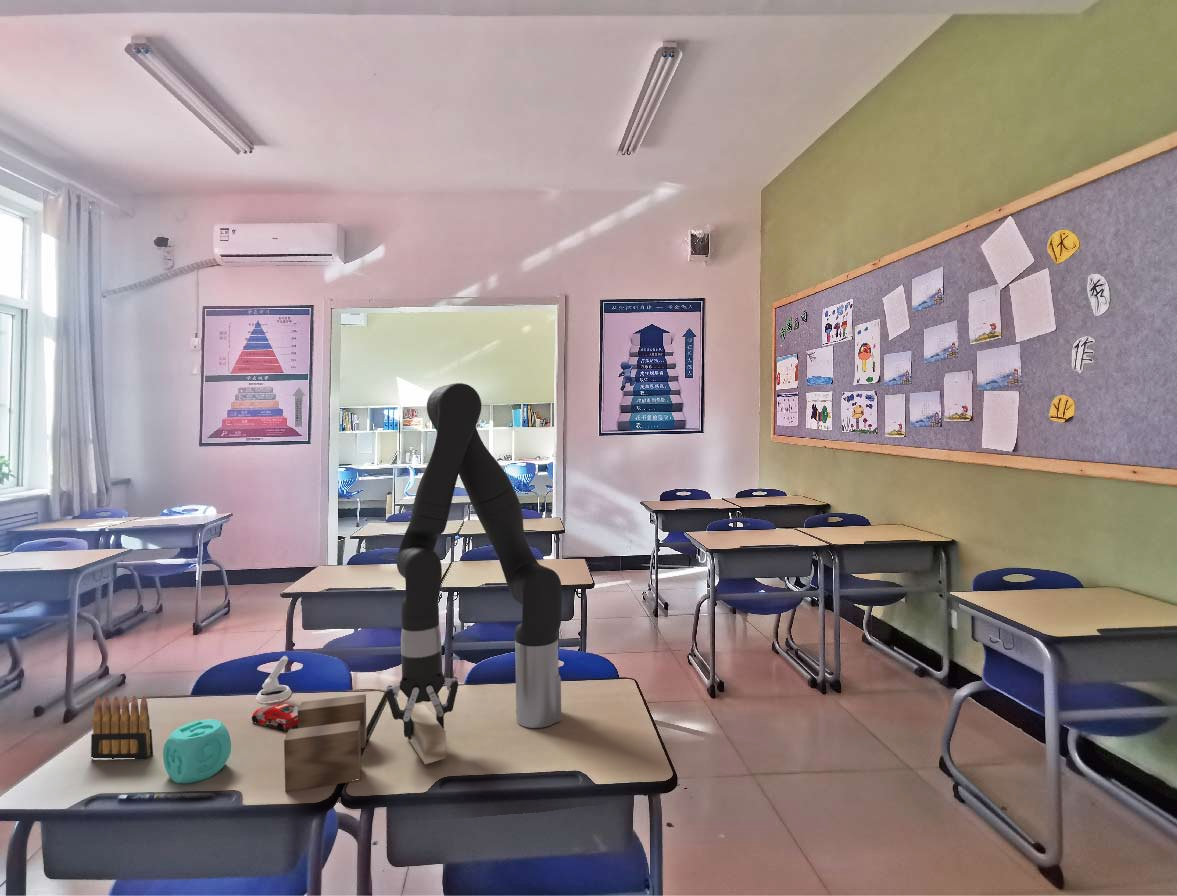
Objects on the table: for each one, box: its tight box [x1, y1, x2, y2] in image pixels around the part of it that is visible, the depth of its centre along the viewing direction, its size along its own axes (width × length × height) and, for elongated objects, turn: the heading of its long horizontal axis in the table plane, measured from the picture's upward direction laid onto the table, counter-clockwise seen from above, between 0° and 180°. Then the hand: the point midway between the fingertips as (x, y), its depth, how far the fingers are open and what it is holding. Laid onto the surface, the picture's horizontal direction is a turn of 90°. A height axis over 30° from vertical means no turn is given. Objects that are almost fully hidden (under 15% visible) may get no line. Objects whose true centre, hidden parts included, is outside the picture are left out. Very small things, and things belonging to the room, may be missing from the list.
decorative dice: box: [162, 718, 232, 784], centre depth 112 cm, size 8×8×8 cm
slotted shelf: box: [283, 694, 368, 793], centre depth 114 cm, size 12×16×9 cm
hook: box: [255, 655, 293, 702], centre depth 144 cm, size 8×12×7 cm
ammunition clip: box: [90, 695, 154, 760], centre depth 117 cm, size 11×2×12 cm, turn 91°
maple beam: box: [403, 703, 447, 765], centre depth 118 cm, size 4×14×5 cm, turn 32°
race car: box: [251, 702, 299, 732], centre depth 131 cm, size 13×5×4 cm, turn 64°
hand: (424, 735), depth 118 cm, fingers closed on maple beam, 4 cm apart
